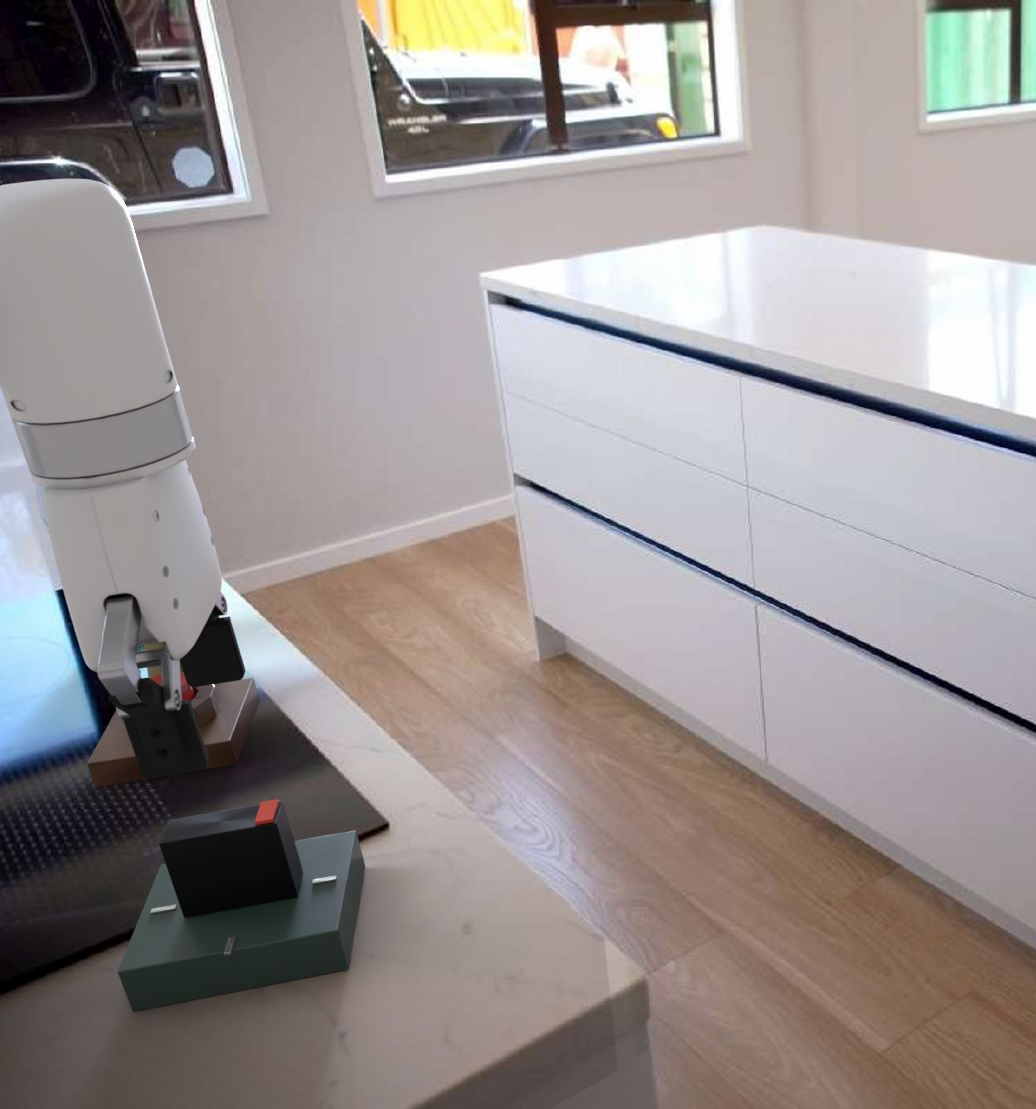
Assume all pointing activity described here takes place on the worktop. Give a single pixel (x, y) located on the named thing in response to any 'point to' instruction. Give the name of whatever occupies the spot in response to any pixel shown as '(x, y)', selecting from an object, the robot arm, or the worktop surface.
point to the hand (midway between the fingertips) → (198, 723)
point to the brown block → (219, 720)
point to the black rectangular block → (232, 858)
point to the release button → (185, 688)
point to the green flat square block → (248, 933)
